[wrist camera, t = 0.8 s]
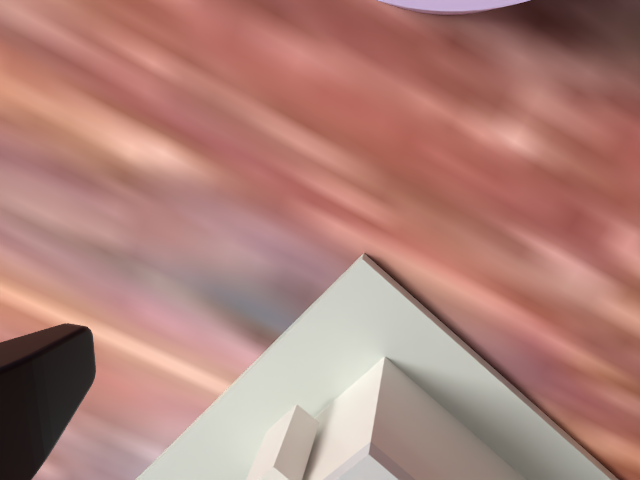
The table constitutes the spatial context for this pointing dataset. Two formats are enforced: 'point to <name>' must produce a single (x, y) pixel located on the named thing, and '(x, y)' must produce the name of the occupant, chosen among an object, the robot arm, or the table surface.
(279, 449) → the white square box
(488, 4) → the clip
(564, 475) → the board
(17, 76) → the table surface
